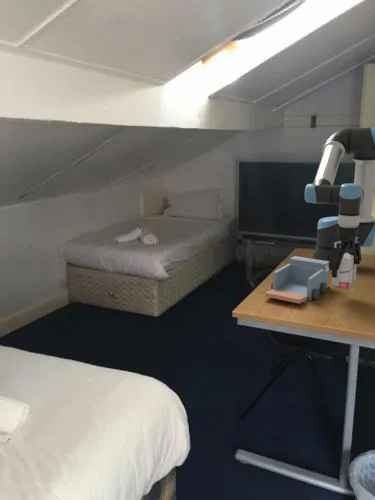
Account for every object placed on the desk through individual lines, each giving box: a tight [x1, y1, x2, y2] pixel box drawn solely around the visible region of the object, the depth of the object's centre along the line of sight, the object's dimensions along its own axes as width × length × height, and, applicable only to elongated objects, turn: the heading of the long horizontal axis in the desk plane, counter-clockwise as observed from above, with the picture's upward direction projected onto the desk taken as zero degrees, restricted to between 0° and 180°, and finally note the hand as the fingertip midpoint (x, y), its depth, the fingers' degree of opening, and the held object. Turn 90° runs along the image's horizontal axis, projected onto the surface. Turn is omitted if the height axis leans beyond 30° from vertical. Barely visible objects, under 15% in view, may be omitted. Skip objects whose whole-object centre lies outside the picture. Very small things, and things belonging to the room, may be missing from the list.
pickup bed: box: [270, 255, 330, 302], centre depth 192 cm, size 21×19×11 cm
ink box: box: [334, 252, 354, 290], centre depth 181 cm, size 9×5×12 cm, turn 150°
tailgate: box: [264, 289, 307, 305], centre depth 180 cm, size 2×14×8 cm
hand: (343, 282), depth 182 cm, fingers closed on ink box, 9 cm apart
